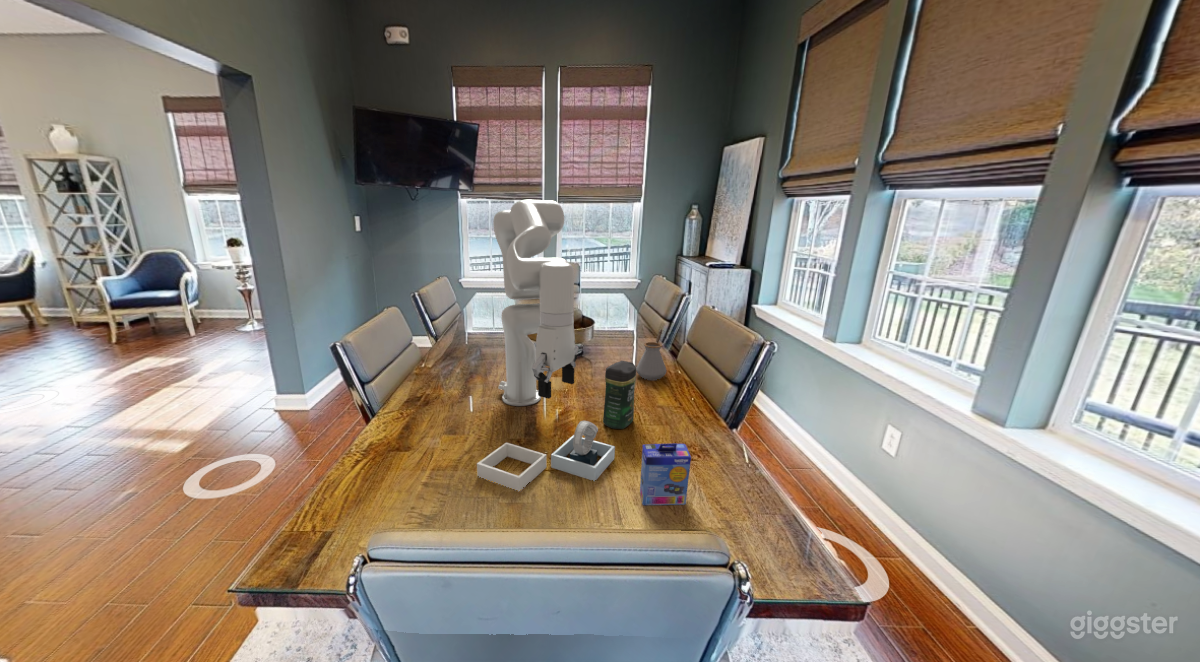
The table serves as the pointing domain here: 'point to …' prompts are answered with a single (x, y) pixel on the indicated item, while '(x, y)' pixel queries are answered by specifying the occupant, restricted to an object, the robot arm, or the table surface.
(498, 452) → the tray near
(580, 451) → the watch
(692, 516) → the table surface
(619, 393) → the coffee jar
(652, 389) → the table surface
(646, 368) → the coffee pot
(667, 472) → the ink cartridge box
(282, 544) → the table surface
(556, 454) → the tray far
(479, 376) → the table surface
